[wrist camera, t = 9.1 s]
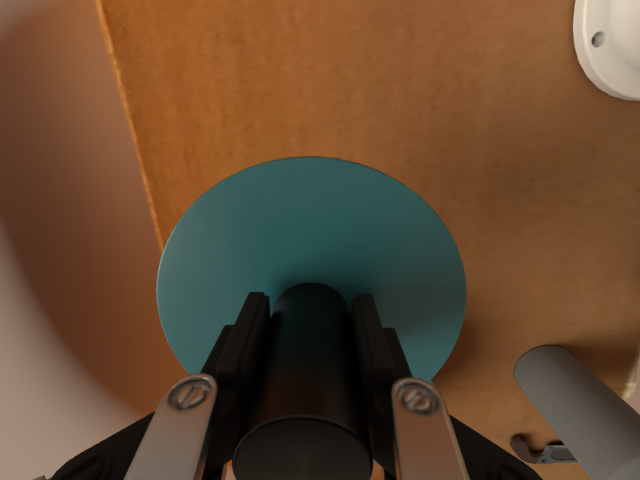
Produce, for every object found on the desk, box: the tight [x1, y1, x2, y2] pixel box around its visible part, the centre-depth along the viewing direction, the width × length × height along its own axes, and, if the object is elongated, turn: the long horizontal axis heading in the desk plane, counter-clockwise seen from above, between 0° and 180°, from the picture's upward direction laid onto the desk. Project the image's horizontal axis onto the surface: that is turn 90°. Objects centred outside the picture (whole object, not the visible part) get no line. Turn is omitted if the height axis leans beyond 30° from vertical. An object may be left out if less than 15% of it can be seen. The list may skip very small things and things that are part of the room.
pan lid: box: [156, 156, 466, 480], centre depth 10 cm, size 13×13×7 cm
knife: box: [510, 436, 578, 464], centre depth 33 cm, size 14×4×1 cm, turn 91°
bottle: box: [514, 345, 640, 480], centre depth 23 cm, size 6×6×15 cm
